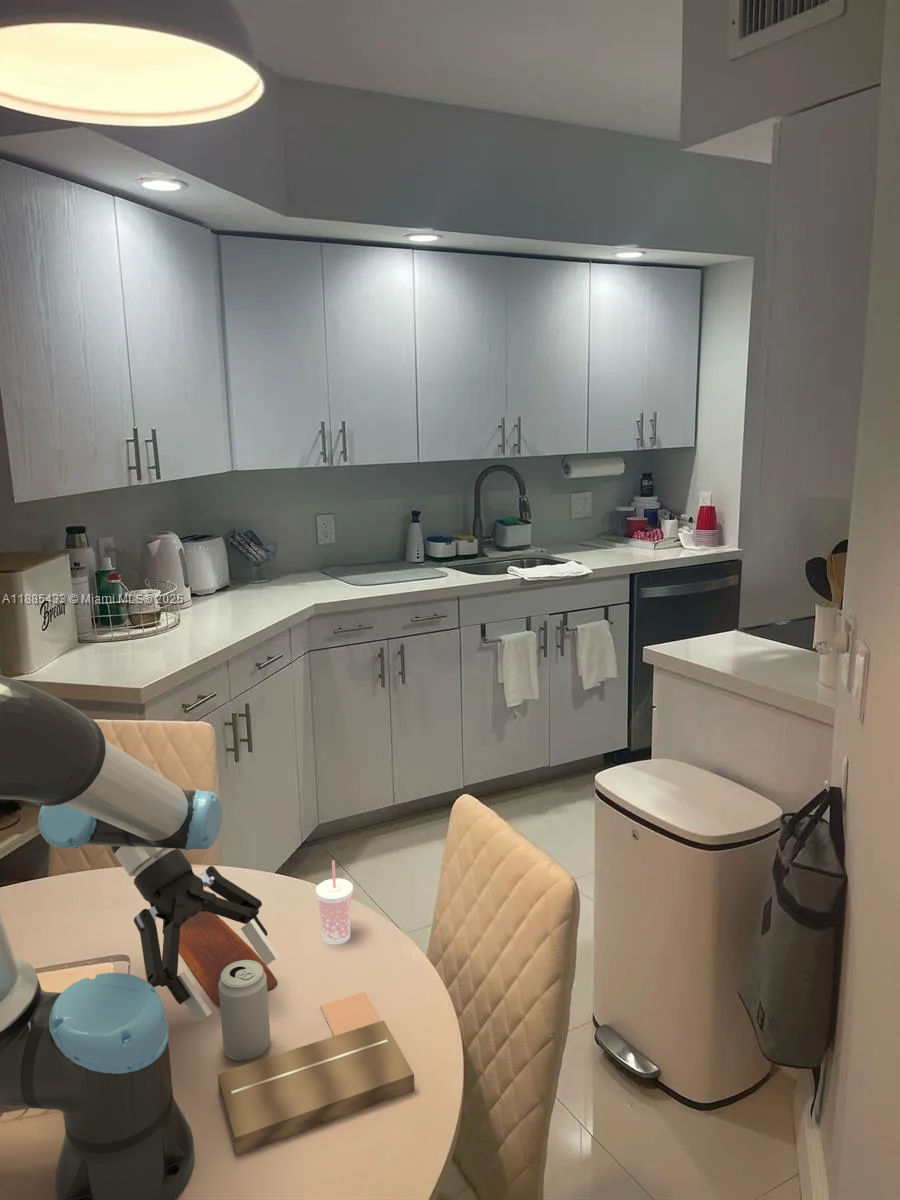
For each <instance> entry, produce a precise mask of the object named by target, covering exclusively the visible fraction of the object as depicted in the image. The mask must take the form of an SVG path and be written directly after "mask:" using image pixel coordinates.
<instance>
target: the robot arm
mask: <svg viewBox="0 0 900 1200" xmlns="http://www.w3.org/2000/svg"><path fill="white" fill-rule="evenodd" d="M0 800H19V801H25V802H26V801H27V802H30V803H31V804H35V805H38V806H41V807H40V810H39V814H38V817H37V821H38V824H37V825H38V830H39V832H40V834H41V837H42V838H43V839H44V841H45V842H46V843H48V844H49V845H50V846H53V847H55V848H58V849H63V850H64V849H78V848H80V847H83V846H106V847H109V848H110V851H112V853H113V855H114V856H115V857H116V859H117V861H118V862H119V863H120V865H121V866H122V868H123V869H124V870H125V872H126V874H127V875H128V876H129V877H135V878H134V879H133V884H134V887H136V889H137V890H138V892H139V893H140V895H141V896H142V899H144V900H145V901H146V902H148V903H149V905H150V908H143V909H142V910H141V911H140V912H139V913H137V914H136V916H134V917H133V922H134V924H135V926H136V928H137V931H138V932H139V935H140V943H141V949H142V956H143V963H144V964H143V965H144V970H145V976H146V979H143V978H141V977H139V976H136V975H133V974H129V973H123V972H104V973H99V974H96V975H95V978H89V977H84V978H83V979H80V980H78V981H76V982H73V983H72V984H71V985H69V986H68V987H66V988H65V989H64V990H63V991H62V992H56V991H45V990H43V989H42V987H41V984H40V980H39V977H38V974H37V972H36V969H35V967H34V966H33V965H32V964H31V963H30V962H28V961H27V960H26V959H23V958H21V957H18V956H15V953H14V951H13V948H12V946H11V945H12V944H11V941H10V939H9V936H8V933H7V930H6V927H5V923H4V921H3V918H2V915H1V913H0V1107H5V1108H7V1107H8V1108H9V1107H10V1108H24V1109H26V1108H27V1109H41V1110H51V1111H60V1112H61V1113H62V1116H63V1122H64V1128H65V1129H64V1131H65V1133H64V1134H65V1135H64V1138H63V1142H62V1145H61V1150H60V1153H59V1157H58V1162H57V1166H56V1169H55V1174H54V1188H55V1196H56V1200H175V1199H177V1197H178V1196H179V1195H180V1194H181V1192H182V1191H183V1190H184V1188H185V1186H186V1184H187V1183H188V1181H189V1179H190V1178H191V1175H192V1172H193V1169H194V1165H195V1157H196V1156H195V1145H194V1137H193V1133H192V1128H191V1126H190V1125H189V1122H188V1121H187V1119H186V1117H185V1116H184V1113H183V1112H182V1110H181V1109H180V1106H179V1105H178V1103H177V1101H176V1100H175V1098H174V1091H173V1078H172V1067H171V1065H172V1064H171V1057H170V1044H169V1034H170V1033H169V1032H170V1031H169V1023H168V1019H167V1016H166V1013H165V1012H166V1011H165V1007H164V1004H163V1003H164V1002H163V999H162V997H161V996H160V994H159V993H158V990H157V989H156V987H160V988H164V987H166V988H167V989H168V991H169V992H170V994H171V995H172V997H173V998H174V1000H175V1001H176V1003H178V1004H179V1005H182V1004H183V1003H184V1005H185V1006H186V1007H187V1010H188V1011H189V1013H190V1014H191V1016H192V1017H193V1019H194V1020H195V1021H196V1023H197V1024H199V1023H201V1022H202V1021H204V1020H205V1019H206V1018H207V1017H209V1016H210V1015H212V1013H213V1012H212V1011H211V1009H210V1008H209V1006H208V1004H206V1002H205V1000H204V998H202V996H201V995H200V993H199V991H198V990H197V989H196V987H195V986H194V984H193V982H191V980H190V978H189V976H188V975H187V974H186V972H185V971H182V973H180V974H178V971H179V970H178V969H179V955H180V953H179V938H180V927H181V925H182V924H183V923H184V922H186V921H187V920H188V919H189V918H191V917H193V916H195V915H196V914H197V913H198V912H199V911H202V912H205V911H207V912H210V913H213V914H216V915H217V916H218V917H223V918H226V919H229V920H232V921H235V922H237V923H241V924H244V925H243V926H242V927H241V928H240V930H241V931H242V933H243V935H244V936H245V937H246V939H247V940H248V941H249V943H250V944H251V946H252V947H253V949H254V950H255V953H256V954H257V955H258V956H259V958H260V959H261V960H262V961H263V962H264V963H265V965H266V966H267V967H268V965H269V964H271V963H272V962H274V960H277V958H279V957H280V955H279V953H278V952H277V950H276V949H275V947H274V946H273V945H272V943H271V942H270V940H269V938H267V936H268V935H269V934H268V931H267V930H266V927H264V925H263V923H262V922H261V921H260V919H259V918H258V915H259V913H260V911H259V910H260V908H261V907H262V905H263V903H262V901H261V900H260V899H259V898H257V897H255V896H254V895H252V894H251V893H249V892H248V891H246V890H244V889H243V888H242V887H240V886H239V885H237V884H235V883H234V882H232V881H231V880H229V879H227V878H226V877H224V876H223V875H222V874H221V873H220V872H219V870H217V869H216V868H215V866H213V865H210V866H208V867H207V868H206V869H204V871H203V872H202V873H201V874H200V876H198V875H196V874H195V873H194V871H193V867H192V864H191V863H190V861H189V860H188V858H187V857H186V855H185V854H184V853H183V850H185V851H191V850H208V849H209V848H211V847H213V845H214V844H215V843H216V841H217V839H218V838H219V836H220V831H221V827H222V822H223V821H222V820H223V807H222V801H221V799H220V797H219V796H218V794H217V793H215V792H213V791H209V790H208V791H205V790H200V789H196V788H195V790H192V789H191V790H188V789H184V788H182V787H181V786H179V785H177V784H175V783H173V782H172V781H171V780H169V779H167V778H166V777H164V776H163V775H162V774H160V773H158V772H156V771H154V770H153V769H152V768H150V767H149V766H147V765H145V764H144V763H142V762H140V761H139V760H137V759H136V758H135V757H133V756H131V755H129V754H128V753H126V752H125V751H124V750H122V749H120V748H119V747H117V746H116V745H114V744H112V743H111V742H109V741H108V740H107V739H106V736H105V733H104V731H103V729H102V727H100V725H99V724H98V723H97V722H96V720H94V719H93V718H92V717H90V716H89V715H87V714H86V713H84V712H83V711H81V710H79V709H78V708H76V707H75V706H72V705H71V704H70V703H68V702H66V701H63V700H62V699H61V698H59V697H56V696H54V695H53V694H50V693H48V692H46V691H44V690H42V689H39V688H37V687H35V686H32V685H31V684H28V683H25V682H23V681H20V680H17V679H16V678H15V679H14V678H11V677H8V676H4V675H1V674H0ZM204 888H208V889H210V890H211V891H212V892H210V891H209V890H208V891H207V890H204ZM216 894H217V895H218V896H219V897H218V896H217V895H216ZM221 897H222V898H221ZM157 918H158V919H161V920H162V934H163V942H162V943H163V944H162V952H161V947H160V940H159V934H158V928H157V923H156V921H157Z"/></svg>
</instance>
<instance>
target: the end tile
mask: <svg viewBox="0 0 900 1200" xmlns="http://www.w3.org/2000/svg"><path fill="white" fill-rule="evenodd" d="M319 1008H320V1010H321V1012H322V1015H323V1016H324V1018H325V1021H326V1022H327V1024H328V1027H329V1029H330V1031H331V1033H332V1037H333V1036H336V1035H339V1034H342V1033H346V1032H349V1031H352V1030H355V1029H358V1028H361V1027H364V1026H367V1025H370V1024H373V1023H377V1022H380V1021H382V1020H381V1018H380V1016H379V1014H378V1013H377V1011H376V1010H375V1007H374V1005H373V1004H372V1002H371V1001H370V998H369V996H368V995H367V993H366V991H363V992H360V993H357V994H353V995H350V996H347V997H343V998H340V999H336V1000H333V1001H331V1002H330V1001H329V1002H327V1003H324V1004H321V1005H319Z"/></svg>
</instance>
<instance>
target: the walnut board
mask: <svg viewBox="0 0 900 1200" xmlns="http://www.w3.org/2000/svg"><path fill="white" fill-rule="evenodd" d="M409 1064H410V1063H408V1061H407V1059H406V1057H405V1056H404V1054H403V1052H402V1050H401V1049H400V1047H399V1045H398V1042H396V1040H395V1038H394V1036H393V1034H392V1032H391V1031H390V1028H389V1027H388V1025H387V1024H386V1021H385V1020H384V1019H383V1020H381V1021H380V1022H377V1023H373V1024H370V1025H367V1026H364V1027H361V1028H358V1029H355V1030H352V1031H349V1032H346V1033H342V1034H339V1035H336V1036H333V1035H332V1036H330V1037H328V1038H324V1039H321V1040H318V1041H315V1042H312V1043H309V1044H306V1045H303V1046H299V1047H297V1048H293V1049H290V1050H288V1051H283V1052H280V1053H278V1054H275V1055H272V1056H269V1057H266V1058H263V1059H260V1060H256V1061H253V1062H249V1063H247V1064H244V1065H241V1066H238V1067H235V1068H231V1069H227V1070H225V1071H222V1072H219V1073H217V1081H218V1083H217V1084H218V1091H219V1096H220V1100H221V1099H222V1100H221V1102H222V1107H223V1110H224V1114H226V1115H225V1118H226V1121H227V1125H228V1129H229V1130H228V1131H229V1133H230V1137H231V1140H232V1144H233V1148H234V1151H235V1154H236V1156H238V1155H241V1154H243V1153H247V1152H248V1151H252V1150H254V1149H256V1148H260V1147H263V1146H265V1145H268V1144H271V1143H273V1142H277V1141H278V1140H281V1139H282V1140H283V1139H284V1138H287V1137H290V1136H293V1135H295V1134H298V1133H301V1132H303V1131H306V1130H309V1129H313V1128H315V1127H317V1126H320V1125H323V1124H325V1123H326V1124H327V1123H328V1122H331V1121H334V1120H336V1119H339V1118H342V1117H345V1116H348V1115H350V1114H354V1113H355V1112H358V1111H361V1110H362V1111H363V1110H364V1109H366V1108H369V1107H373V1106H375V1105H378V1104H380V1103H381V1104H382V1103H383V1102H386V1101H389V1100H391V1099H395V1098H397V1097H400V1096H402V1095H403V1096H404V1095H405V1094H409V1093H411V1092H413V1091H415V1074H414V1071H413V1070H412V1067H411V1066H410V1065H409Z"/></svg>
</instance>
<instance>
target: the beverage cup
mask: <svg viewBox="0 0 900 1200" xmlns="http://www.w3.org/2000/svg"><path fill="white" fill-rule="evenodd" d="M331 870H332V871H331V873H332V878H330V879H325V880H323V881H322V882H320V883H318V885H317V886H316V887H315V893H316V895H315V896H316V898H317V899H318V909H319V917H320V925H321V927H320V928H321V933H322V940H323V942H324V943H326V944H328V945H331V946H332V945H333V946H337V945H342V944H344V943H346V942H347V941H349V940H350V938H351V926H352V925H351V920H352V896H353V894H354V885H353V883H352V882H351V881H349V880H347V879H346V878H345V879H344V878H340V877H339V878H338V877H337V878H336V860H335V859H333V860H331Z"/></svg>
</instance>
